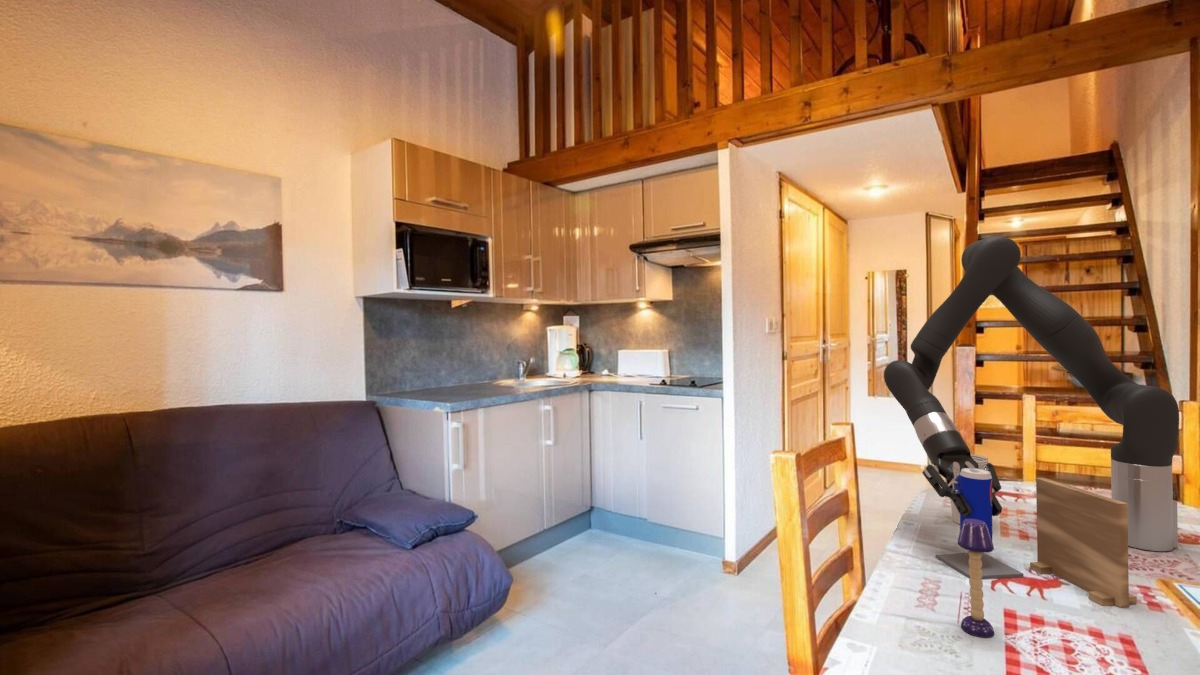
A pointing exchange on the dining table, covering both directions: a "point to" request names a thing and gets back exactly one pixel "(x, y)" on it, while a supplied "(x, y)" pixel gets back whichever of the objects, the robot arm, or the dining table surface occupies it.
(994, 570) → the felt pad
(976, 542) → the toy lamp
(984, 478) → the beverage can
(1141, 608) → the dining table surface
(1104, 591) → the oak board
